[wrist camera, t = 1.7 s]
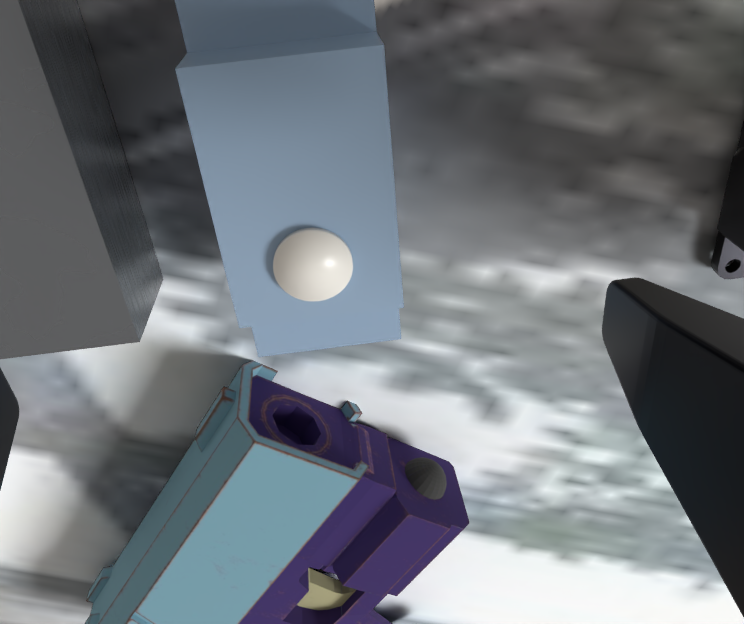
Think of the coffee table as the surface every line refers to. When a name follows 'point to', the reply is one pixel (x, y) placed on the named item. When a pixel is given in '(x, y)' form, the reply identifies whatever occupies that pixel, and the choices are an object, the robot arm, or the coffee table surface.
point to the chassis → (65, 194)
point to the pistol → (282, 518)
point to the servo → (296, 166)
